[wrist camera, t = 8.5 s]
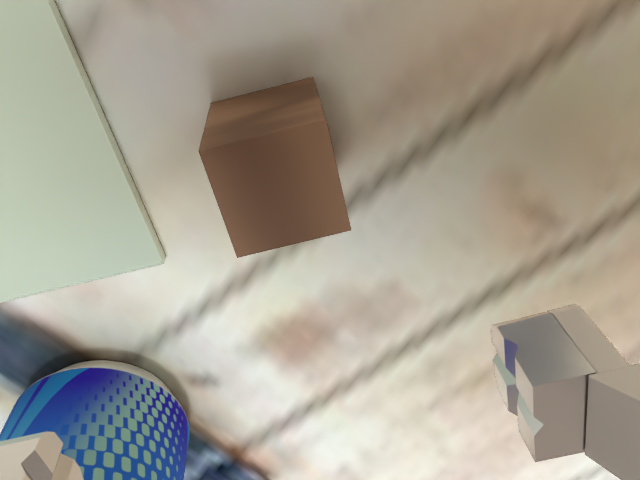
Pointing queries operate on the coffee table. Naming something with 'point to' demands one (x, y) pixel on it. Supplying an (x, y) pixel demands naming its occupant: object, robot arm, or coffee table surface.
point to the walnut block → (273, 168)
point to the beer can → (107, 421)
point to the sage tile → (60, 166)
